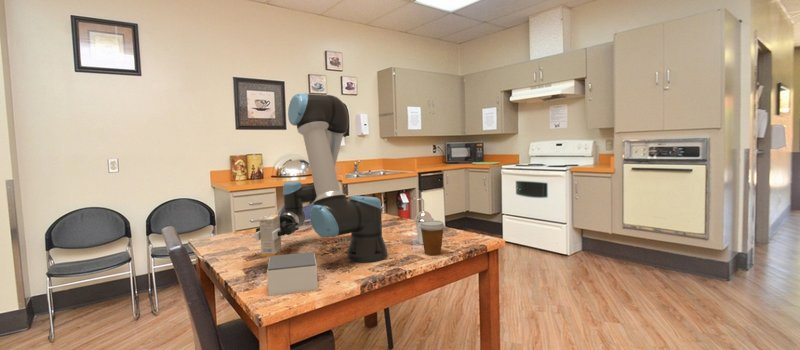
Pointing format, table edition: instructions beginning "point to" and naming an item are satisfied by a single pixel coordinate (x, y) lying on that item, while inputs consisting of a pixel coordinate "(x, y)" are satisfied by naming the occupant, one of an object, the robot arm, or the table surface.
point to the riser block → (292, 273)
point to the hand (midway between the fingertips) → (264, 236)
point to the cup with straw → (421, 220)
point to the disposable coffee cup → (432, 236)
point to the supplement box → (269, 235)
